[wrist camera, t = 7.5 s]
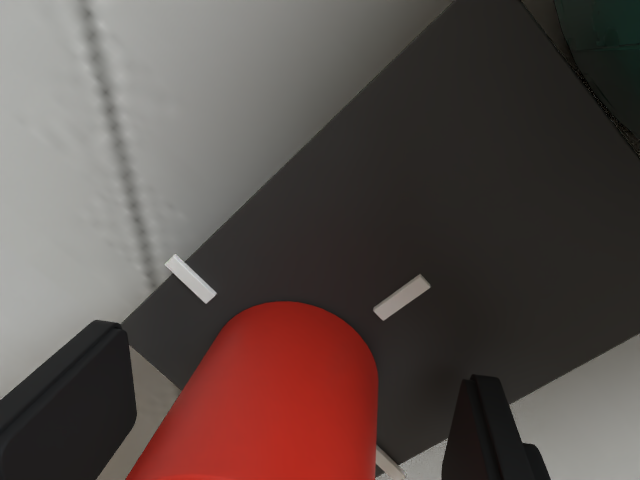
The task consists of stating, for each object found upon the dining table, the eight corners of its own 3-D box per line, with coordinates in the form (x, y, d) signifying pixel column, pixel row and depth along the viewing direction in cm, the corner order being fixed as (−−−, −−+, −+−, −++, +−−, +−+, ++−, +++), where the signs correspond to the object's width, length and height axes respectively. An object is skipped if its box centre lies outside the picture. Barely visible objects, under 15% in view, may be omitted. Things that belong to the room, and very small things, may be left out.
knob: (180, 367, 12) (34, 576, 7) (285, 265, 10) (190, 444, 5) (299, 464, 13) (241, 717, 8) (415, 382, 11) (435, 637, 6)
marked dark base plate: (457, -20, 10) (484, -55, 7) (659, 239, 12) (748, 296, 9) (136, 297, 15) (75, 352, 12) (309, 454, 16) (292, 538, 14)
